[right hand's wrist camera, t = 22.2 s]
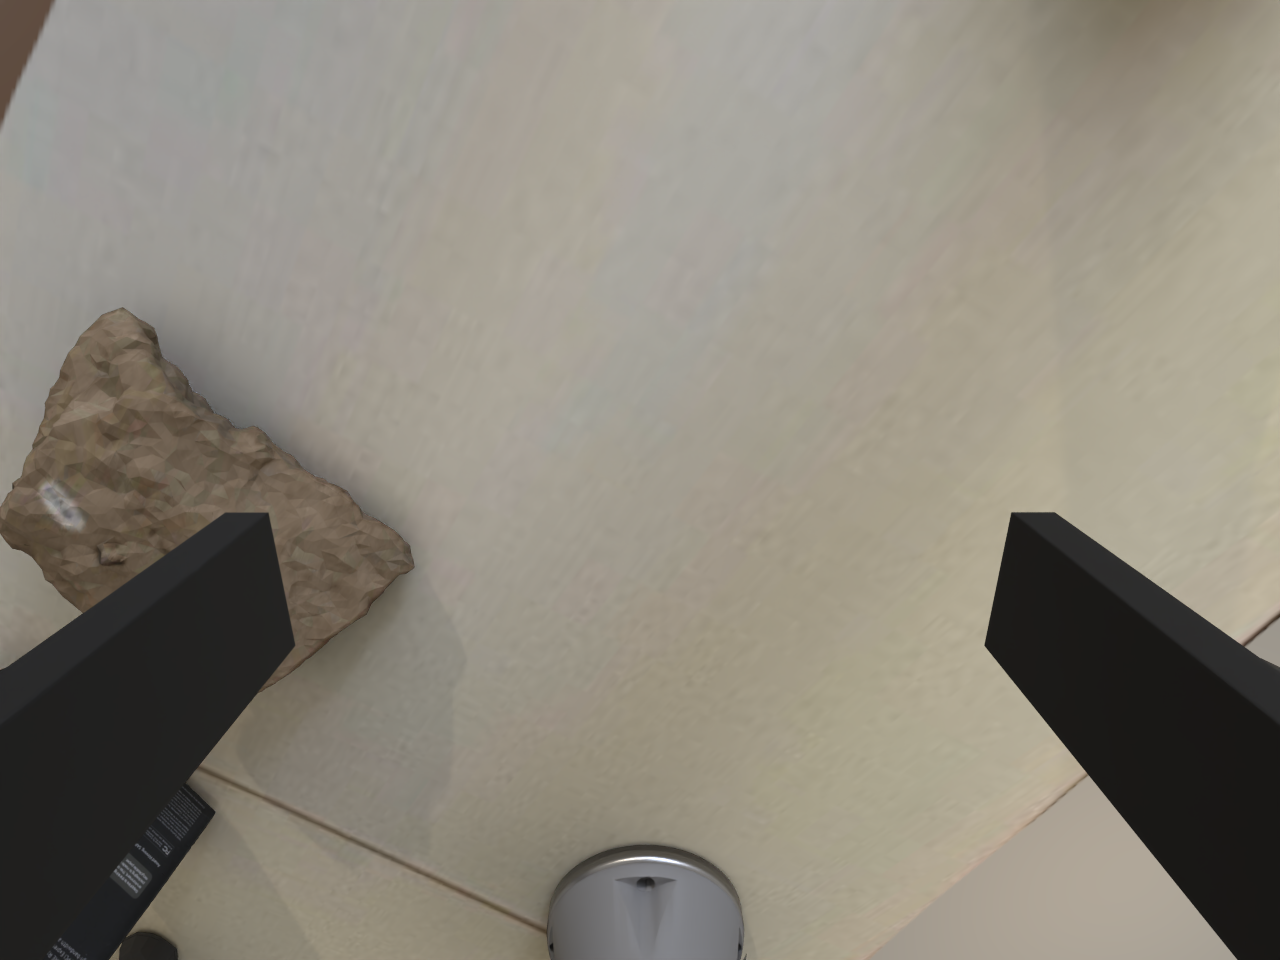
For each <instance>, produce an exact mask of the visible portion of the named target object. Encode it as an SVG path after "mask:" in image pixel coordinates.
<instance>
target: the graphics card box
mask: <svg viewBox="0 0 1280 960" xmlns="http://www.w3.org/2000/svg"><path fill="white" fill-rule="evenodd" d="M214 814H215V811H214V810H213V809H212V808H211V807H210V806H209V805H208V804H207V803H205V802H204V801H203V800H202V799H201V798H200V797H199V795H197V794H196V793H195V792H194V791H193V790H192V789H191V788H190V787H189V786H188V785H187V784H186V783H184V785H183V786H182V787H181V788H180V790H179V791H178V792H177V793H176V795H175V796H174V797H173V798H172V800H171V801H170V802H169V803H168V805H167V806H166V807H165V808H164V810H163V811H162V812H161V813H160V814H159V816H158V817H157V818H156V819H155V821H154V822H153V823H152V824H151V826H150V827H149V828H148V829H147V831H146V832H145V833H144V834H143V836H142V837H141V838H140V839H139V841H138V842H137V843H136V844H135V846H134V847H133V848H132V849H131V850H130V852H129V853H128V854H127V855H126V857H125V858H124V859H123V860H122V862H121V863H120V864H119V865H118V867H117V868H116V869H115V870H114V872H113V873H112V874H111V875H110V877H109V878H108V879H107V880H106V882H105V883H104V884H103V885H102V886H101V888H100V889H99V890H98V891H97V893H96V894H95V895H94V896H93V898H92V899H91V900H90V901H89V903H88V904H87V905H86V906H85V908H84V909H83V910H82V911H81V913H80V914H79V915H78V916H77V918H76V919H75V920H74V921H73V922H72V924H71V925H70V926H69V927H68V929H67V930H66V931H65V932H64V934H63V935H62V936H61V937H60V939H59V940H58V941H57V942H56V944H55V945H54V946H53V947H52V949H51V950H50V951H49V952H48V954H47V955H46V956H45V957H44V958H43V960H109V959H110V958H111V956H112V955H113V954H114V952H115V951H116V949H117V948H118V947H119V945H120V944H121V943H122V941H123V940H124V939H125V938H126V936H127V934H128V933H129V932H130V931H131V929H132V928H133V926H134V925H135V924H136V922H137V921H138V920H139V919H140V917H141V916H142V914H143V913H144V912H145V910H146V909H147V908H148V907H149V905H150V903H151V902H152V901H153V900H154V898H155V897H156V895H157V894H158V893H159V891H160V890H161V889H162V887H163V886H164V884H165V883H166V882H167V880H168V879H169V877H170V876H171V875H172V873H173V872H174V871H175V869H176V867H177V866H178V865H179V863H180V862H181V861H182V859H183V858H184V857H185V855H186V853H187V852H188V851H189V850H190V848H191V846H192V845H193V844H194V843H195V841H196V840H197V839H198V837H199V836H200V834H201V833H202V832H203V830H204V829H205V828H206V826H207V825H208V823H209V822H210V820H211V819H212V817H213V816H214Z"/></svg>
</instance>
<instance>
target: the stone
mask: <svg viewBox="0 0 1280 960" xmlns="http://www.w3.org/2000/svg"><path fill="white" fill-rule="evenodd" d="M12 485H13V490H12V491H11V492H10V493H8V495H7V497H6V499H5V501H4V502H3V504H2V505H1V507H0V534H1V535H2V536H3V538H4V539H5V541H6V542H7V543H8V544H9V545H10V546H11V548H12V549H17V550H22V551H23V552H25V553H27V554H28V555H30V556H32V558H33V559H34V560H35V561H36V563H37V564H38V565H39V566H40V568H41V569H42V571H43V574H44V577H45V580H47V581H48V582H50V583H52V584H53V586H54V587H55V588H56V589H57V590H58V591H59V593H60V594H61V595H62V596H63V597H64V598H65V599H67V600H68V601H69V602H70V603H72V604H73V605H74V606H75V607H76V608H78V609H79V610H80V611H81V612H82V613H84V612H86V611H87V610H89V609H90V608H91V607H93V606H94V605H96V604H97V603H98V602H100V601H101V600H103V599H104V598H105V597H107V596H108V595H110V594H111V593H112V592H114V591H115V590H117V589H118V588H120V587H121V586H122V585H124V584H125V583H127V582H128V581H129V580H131V579H132V578H134V577H135V576H136V575H138V574H139V573H141V572H142V571H143V570H145V569H146V568H148V567H149V566H151V565H152V564H153V563H155V562H156V561H158V560H159V559H160V558H162V557H163V556H165V555H166V554H167V553H169V552H170V551H172V550H173V549H174V548H176V547H177V546H179V545H180V544H182V543H183V542H184V541H186V540H187V539H189V538H190V537H191V536H193V535H194V534H196V533H197V532H198V531H200V530H201V529H203V528H204V527H205V526H207V525H208V524H210V523H211V522H212V521H214V520H215V519H217V518H218V517H220V516H221V515H222V514H224V513H225V512H269V517H270V522H271V527H272V532H273V537H274V542H275V547H276V552H277V557H278V562H279V567H280V571H281V576H282V581H283V586H284V591H285V596H286V601H287V606H288V611H289V616H290V621H291V626H292V631H293V636H294V641H295V645H296V646H295V647H294V648H293V649H292V651H291V652H290V653H289V654H288V656H287V657H286V658H285V659H284V661H283V662H282V663H281V664H280V666H279V667H278V668H277V669H276V671H275V672H274V673H273V674H272V675H271V677H270V678H269V679H268V680H267V682H266V683H265V684H264V685H263V687H262V688H261V689H260V690H259V692H262V691H263V690H264V689H265V688H267V687H269V686H271V685H273V684H275V683H276V682H277V681H279V680H280V679H282V678H283V677H285V676H286V675H288V674H289V673H291V672H292V671H293V670H295V669H296V668H297V667H299V666H300V665H301V664H302V663H303V662H304V661H305V660H306V659H308V658H310V657H311V656H312V655H313V654H314V653H316V652H317V651H318V650H319V649H320V648H322V647H323V646H324V645H325V644H326V643H327V642H328V641H329V639H331V638H332V637H334V636H335V635H337V634H338V633H339V632H340V631H342V630H343V629H345V628H346V627H347V626H349V625H350V624H352V623H353V622H355V621H356V620H358V619H360V618H361V617H363V616H364V615H366V614H367V612H368V610H369V608H370V606H371V603H372V602H373V601H375V600H376V599H377V598H378V597H379V596H380V595H381V594H382V593H383V592H384V590H385V588H386V587H387V586H389V585H390V584H391V583H392V582H393V581H394V580H395V578H396V577H397V576H398V575H400V574H406V573H408V572H409V571H410V570H412V569H413V568H414V561H413V558H412V555H411V550H410V546H409V544H408V543H406V542H405V541H403V539H402V538H401V537H400V536H399V535H398V534H397V533H396V532H395V531H394V530H393V529H391V528H390V527H388V526H386V525H385V524H383V523H382V522H380V521H378V520H377V519H375V518H373V517H371V516H368V515H366V514H365V513H364V512H362V511H361V509H360V507H359V506H358V505H357V504H356V503H355V502H354V501H353V500H352V498H351V496H350V495H349V493H348V491H346V490H344V489H342V488H340V487H338V486H336V485H334V484H331V483H328V482H327V481H326V480H325V479H322V478H318V477H315V476H313V475H312V474H310V473H309V472H307V471H306V470H304V469H303V468H302V467H301V466H300V464H299V463H298V462H297V461H296V460H295V458H294V457H293V456H291V455H289V454H288V453H286V452H284V451H283V450H281V449H280V448H279V447H277V446H276V445H275V444H273V443H272V441H271V440H270V438H269V437H268V436H267V435H266V433H264V432H263V431H262V430H260V429H259V428H257V427H254V426H252V427H248V428H245V429H237V428H234V426H233V425H232V424H231V423H230V421H229V420H228V419H226V418H224V417H222V416H220V415H217V414H214V412H213V411H212V409H211V408H210V406H209V404H208V403H207V401H206V400H205V398H203V397H202V396H200V395H199V394H197V393H194V392H192V390H191V388H190V385H189V383H188V380H187V379H186V377H185V376H184V375H183V373H182V372H181V371H180V369H179V368H178V367H177V366H175V365H173V364H172V363H170V362H168V361H166V360H165V359H164V358H163V357H162V355H161V351H160V348H159V344H158V338H157V335H156V332H155V329H154V328H153V327H152V326H150V325H149V324H147V323H146V322H144V321H142V320H140V319H138V318H137V317H135V316H134V315H133V314H132V313H130V312H129V311H127V310H126V309H124V308H123V307H122V308H120V309H117V310H114V311H111V312H109V313H106V314H103V315H101V317H100V318H99V319H98V320H97V321H96V322H95V323H94V324H93V325H92V326H90V327H89V328H88V329H87V330H86V331H85V332H84V333H83V334H82V335H81V336H80V337H79V339H78V341H77V343H76V345H75V347H74V348H73V349H72V350H71V351H70V352H69V353H68V355H67V357H66V359H65V361H64V364H63V366H62V368H61V370H60V377H59V379H58V380H57V382H56V383H55V385H54V386H53V387H52V388H51V389H50V392H49V397H48V399H47V400H46V402H45V414H44V419H43V421H42V423H41V425H40V427H39V432H38V434H37V436H36V439H35V441H34V443H33V450H32V451H31V452H30V453H29V455H28V456H27V458H26V460H25V463H24V466H23V472H22V476H21V478H19V479H18V480H16V481H15V482H13V483H12ZM259 692H258V693H259Z"/></svg>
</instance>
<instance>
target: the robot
mask: <svg viewBox="0 0 1280 960" xmlns="http://www.w3.org/2000/svg"><path fill="white" fill-rule="evenodd" d="M119 960H178V959H177V949H176V948H175V947H173V946H172V945H171V944H169V943H168V942H167V941H166V940H164V939H163V938H162V937H159V936H157V935H155V934H152V933H142V932H137V933H135V934H133V935H131V936H128V937H126V938H125V939H124V940H123V941H122V945H121V948H120V952H119Z"/></svg>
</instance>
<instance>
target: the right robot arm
mask: <svg viewBox="0 0 1280 960" xmlns="http://www.w3.org/2000/svg"><path fill="white" fill-rule="evenodd" d="M295 646H296V645H295V641H294V636H293V631H292V626H291V621H290V616H289V611H288V606H287V601H286V596H285V591H284V586H283V581H282V576H281V571H280V567H279V562H278V557H277V552H276V547H275V542H274V537H273V532H272V527H271V522H270V517H269V512H225V513H224V514H222V515H221V516H220V517H218V518H217V519H215V520H214V521H212V522H211V523H210V524H208V525H207V526H205V527H204V528H203V529H201V530H200V531H198V532H197V533H196V534H194V535H193V536H191V537H190V538H189V539H187V540H186V541H184V542H183V543H182V544H180V545H179V546H177V547H176V548H174V549H173V550H172V551H170V552H169V553H167V554H166V555H165V556H163V557H162V558H160V559H159V560H158V561H156V562H155V563H153V564H152V565H151V566H149V567H148V568H146V569H145V570H143V571H142V572H141V573H139V574H138V575H136V576H135V577H134V578H132V579H131V580H129V581H128V582H127V583H125V584H124V585H122V586H121V587H120V588H118V589H117V590H115V591H114V592H112V593H111V594H110V595H108V596H107V597H105V598H104V599H103V600H101V601H100V602H98V603H97V604H96V605H94V606H93V607H91V608H90V609H89V610H87V611H86V612H84V613H83V614H81V615H80V616H79V617H77V618H76V619H74V620H73V621H72V622H70V623H69V624H67V625H66V626H65V627H63V628H62V629H60V630H59V631H58V632H56V633H55V634H53V635H52V636H50V637H49V638H48V639H46V640H45V641H43V642H42V643H41V644H39V645H38V646H36V647H35V648H34V649H32V650H31V651H29V652H28V653H27V654H25V655H24V656H22V657H21V658H19V659H18V660H17V661H15V662H14V663H12V664H11V665H10V666H8V667H6V668H4V669H2V670H0V960H43V958H44V957H45V956H46V955H47V954H48V952H49V951H50V950H51V949H52V947H53V946H54V945H55V944H56V942H57V941H58V940H59V939H60V937H61V936H62V935H63V934H64V932H65V931H66V930H67V929H68V927H69V926H70V925H71V924H72V922H73V921H74V920H75V919H76V918H77V916H78V915H79V914H80V913H81V911H82V910H83V909H84V908H85V906H86V905H87V904H88V903H89V901H90V900H91V899H92V898H93V896H94V895H95V894H96V893H97V891H98V890H99V889H100V888H101V886H102V885H103V884H104V883H105V882H106V880H107V879H108V878H109V877H110V875H111V874H112V873H113V872H114V870H115V869H116V868H117V867H118V865H119V864H120V863H121V862H122V860H123V859H124V858H125V857H126V855H127V854H128V853H129V852H130V850H131V849H132V848H133V847H134V846H135V844H136V843H137V842H138V841H139V839H140V838H141V837H142V836H143V834H144V833H145V832H146V831H147V829H148V828H149V827H150V826H151V824H152V823H153V822H154V821H155V819H156V818H157V817H158V816H159V814H160V813H161V812H162V811H163V810H164V808H165V807H166V806H167V805H168V803H169V802H170V801H171V800H172V798H173V797H174V796H175V795H176V793H177V792H178V791H179V790H180V788H181V787H182V786H183V785H184V783H185V782H186V781H187V780H188V778H189V777H190V776H191V775H192V774H193V772H194V771H195V770H196V769H197V767H198V766H199V765H200V764H201V762H202V761H203V760H204V759H205V757H206V756H207V755H208V754H209V752H210V751H211V750H212V749H213V747H214V746H215V745H216V744H217V743H218V741H219V740H220V739H221V738H222V736H223V735H224V734H225V733H226V731H227V730H228V729H229V728H230V726H231V725H232V724H233V723H234V721H235V720H236V719H237V718H238V716H239V715H240V714H241V713H242V711H243V710H244V709H245V708H246V707H247V705H248V704H249V703H250V702H251V700H252V699H253V698H254V697H255V695H256V694H257V693H258V692H259V690H260V689H261V688H262V687H263V685H264V684H265V683H266V682H267V680H268V679H269V678H270V677H271V675H272V674H273V673H274V672H275V671H276V669H277V668H278V667H279V666H280V664H281V663H282V662H283V661H284V659H285V658H286V657H287V656H288V654H289V653H290V652H291V651H292V649H293V648H294V647H295ZM984 646H985V647H986V648H987V649H988V651H989V652H990V653H991V654H992V656H993V657H994V658H995V659H996V661H997V662H998V663H999V664H1000V666H1001V667H1002V668H1003V669H1004V671H1005V672H1006V673H1007V674H1008V675H1009V677H1010V678H1011V679H1012V680H1013V682H1014V683H1015V684H1016V685H1017V687H1018V688H1019V689H1020V690H1021V692H1022V693H1023V694H1024V695H1025V697H1026V698H1027V699H1028V700H1029V702H1030V703H1031V704H1032V705H1033V707H1034V708H1035V709H1036V710H1037V711H1038V713H1039V714H1040V715H1041V716H1042V718H1043V719H1044V720H1045V721H1046V723H1047V724H1048V725H1049V726H1050V728H1051V729H1052V730H1053V731H1054V733H1055V734H1056V735H1057V736H1058V738H1059V739H1060V740H1061V741H1062V743H1063V744H1064V745H1065V746H1066V747H1067V749H1068V750H1069V751H1070V752H1071V754H1072V755H1073V756H1074V757H1075V759H1076V760H1077V761H1078V762H1079V764H1080V765H1081V766H1082V767H1083V769H1084V770H1085V771H1086V772H1087V774H1088V775H1089V776H1090V777H1091V778H1092V780H1093V781H1094V782H1095V783H1096V785H1097V786H1098V787H1099V788H1100V790H1101V791H1102V792H1103V793H1104V795H1105V796H1106V797H1107V798H1108V800H1109V801H1110V802H1111V803H1112V805H1113V806H1114V807H1115V808H1116V810H1117V811H1118V812H1119V813H1120V814H1121V816H1122V817H1123V818H1124V819H1125V821H1126V822H1127V823H1128V824H1129V826H1130V827H1131V828H1132V829H1133V831H1134V832H1135V833H1136V834H1137V836H1138V837H1139V838H1140V839H1141V841H1142V842H1143V843H1144V844H1145V846H1146V847H1147V848H1148V849H1149V850H1150V852H1151V853H1152V854H1153V855H1154V857H1155V858H1156V859H1157V860H1158V862H1159V863H1160V864H1161V865H1162V867H1163V868H1164V869H1165V870H1166V871H1167V873H1168V874H1169V875H1170V877H1171V878H1172V879H1173V880H1174V882H1175V883H1176V884H1177V885H1178V886H1179V888H1180V889H1181V890H1182V891H1183V893H1184V894H1185V895H1186V896H1187V898H1188V899H1189V900H1190V901H1191V903H1192V904H1193V905H1194V906H1195V908H1196V909H1197V910H1198V911H1199V913H1200V914H1201V915H1202V916H1203V918H1204V919H1205V920H1206V921H1207V922H1208V924H1209V925H1210V926H1211V927H1212V929H1213V930H1214V931H1215V932H1216V934H1217V935H1218V936H1219V937H1220V939H1221V940H1222V941H1223V942H1224V944H1225V945H1226V946H1227V947H1228V949H1229V950H1230V951H1231V952H1232V954H1233V955H1234V956H1235V957H1236V958H1237V960H1280V667H1278V666H1276V665H1274V664H1272V663H1270V662H1268V661H1265V660H1263V659H1261V658H1259V657H1258V656H1256V655H1255V654H1253V653H1252V652H1251V651H1249V650H1248V649H1246V648H1245V647H1244V646H1242V645H1241V644H1239V643H1238V642H1237V641H1235V640H1234V639H1232V638H1231V637H1230V636H1228V635H1227V634H1225V633H1224V632H1222V631H1221V630H1220V629H1218V628H1217V627H1215V626H1214V625H1213V624H1211V623H1210V622H1208V621H1207V620H1206V619H1204V618H1203V617H1201V616H1200V615H1199V614H1197V613H1196V612H1194V611H1193V610H1191V609H1190V608H1189V607H1187V606H1186V605H1184V604H1183V603H1182V602H1180V601H1179V600H1177V599H1176V598H1175V597H1173V596H1172V595H1170V594H1169V593H1168V592H1166V591H1165V590H1163V589H1162V588H1160V587H1159V586H1158V585H1156V584H1155V583H1153V582H1152V581H1151V580H1149V579H1148V578H1146V577H1145V576H1144V575H1142V574H1141V573H1139V572H1138V571H1137V570H1135V569H1134V568H1132V567H1131V566H1129V565H1128V564H1127V563H1125V562H1124V561H1122V560H1121V559H1120V558H1118V557H1117V556H1115V555H1114V554H1113V553H1111V552H1110V551H1108V550H1107V549H1106V548H1104V547H1103V546H1101V545H1100V544H1098V543H1097V542H1096V541H1094V540H1093V539H1091V538H1090V537H1089V536H1087V535H1086V534H1084V533H1083V532H1082V531H1080V530H1079V529H1077V528H1076V527H1075V526H1073V525H1072V524H1070V523H1069V522H1068V521H1066V520H1065V519H1063V518H1062V517H1060V516H1059V515H1058V514H1056V513H1055V512H1011V517H1010V522H1009V527H1008V532H1007V537H1006V542H1005V547H1004V552H1003V557H1002V562H1001V567H1000V571H999V576H998V581H997V586H996V591H995V596H994V601H993V606H992V611H991V616H990V621H989V626H988V631H987V636H986V641H985V645H984ZM547 941H548V949H549V955H550V958H551V960H740V959H741V955H742V950H743V942H744V924H743V917H742V910H741V904H740V900H739V897H738V894H737V892H736V890H735V888H734V886H733V885H732V883H731V882H730V881H729V879H728V878H727V877H726V876H725V875H724V874H723V873H722V872H721V871H720V870H719V869H718V868H716V867H715V866H714V865H712V864H711V863H709V862H708V861H706V860H704V859H702V858H701V857H698V856H696V855H694V854H691V853H689V852H686V851H683V850H679V849H675V848H670V847H665V846H656V845H635V846H627V847H621V848H616V849H612V850H608V851H605V852H603V853H600V854H597V855H595V856H593V857H591V858H589V859H587V860H585V861H583V862H582V863H580V864H579V865H577V866H576V867H575V868H573V869H572V870H571V871H570V872H569V873H568V874H567V875H566V876H565V877H564V878H563V879H562V881H561V882H560V883H559V885H558V886H557V888H556V890H555V892H554V894H553V896H552V900H551V903H550V909H549V917H548V924H547ZM746 955H747V954H746ZM744 960H746V956H745V958H744Z"/></svg>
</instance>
